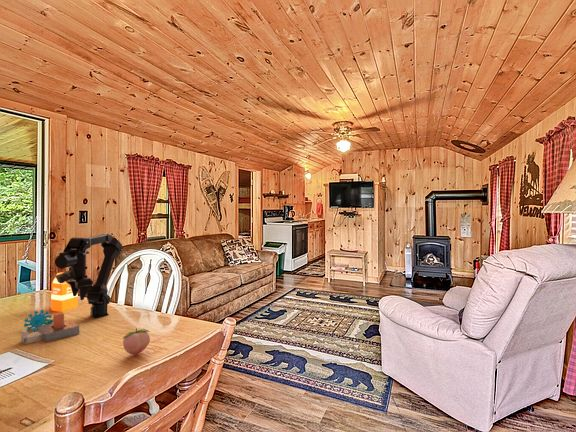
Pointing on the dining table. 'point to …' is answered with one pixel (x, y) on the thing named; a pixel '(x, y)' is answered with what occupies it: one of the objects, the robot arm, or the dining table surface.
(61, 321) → the terracotta rectangular prism
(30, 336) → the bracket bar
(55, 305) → the orange juice
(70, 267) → the robot arm
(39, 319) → the gear
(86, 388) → the dining table surface
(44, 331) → the grey square hole block
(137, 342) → the decorative fruit
